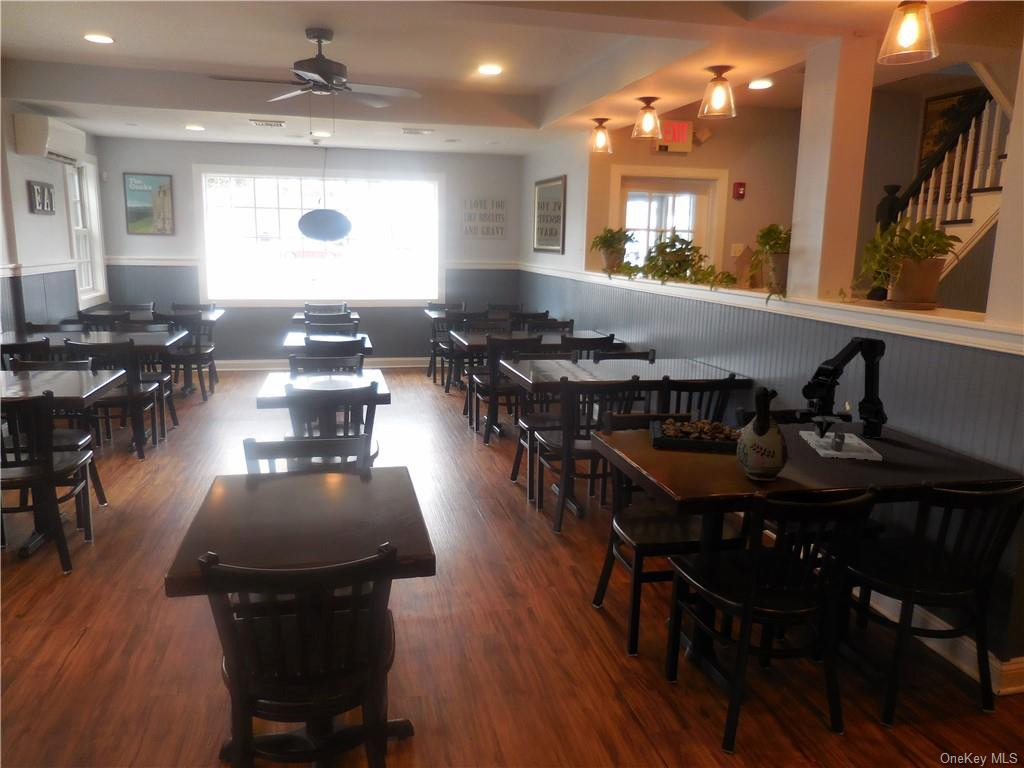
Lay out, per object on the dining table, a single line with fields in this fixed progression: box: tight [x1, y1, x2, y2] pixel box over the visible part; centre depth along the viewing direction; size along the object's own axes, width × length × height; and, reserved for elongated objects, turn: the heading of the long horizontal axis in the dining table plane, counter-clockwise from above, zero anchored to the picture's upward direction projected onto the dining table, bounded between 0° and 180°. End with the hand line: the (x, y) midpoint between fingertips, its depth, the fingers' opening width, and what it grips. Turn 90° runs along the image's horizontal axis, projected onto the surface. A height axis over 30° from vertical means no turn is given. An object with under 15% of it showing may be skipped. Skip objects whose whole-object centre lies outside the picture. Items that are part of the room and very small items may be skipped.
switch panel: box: [799, 430, 883, 462], centre depth 267 cm, size 20×30×2 cm, turn 173°
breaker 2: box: [831, 438, 843, 451], centre depth 257 cm, size 2×4×4 cm, turn 173°
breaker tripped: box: [833, 431, 846, 444], centre depth 266 cm, size 2×4×4 cm, turn 173°
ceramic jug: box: [736, 385, 789, 482], centre depth 226 cm, size 17×15×30 cm
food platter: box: [649, 418, 749, 454], centre depth 266 cm, size 45×25×10 cm, turn 82°
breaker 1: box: [814, 424, 819, 436], centre depth 276 cm, size 2×4×4 cm, turn 173°
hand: (821, 438), depth 267 cm, fingers closed
